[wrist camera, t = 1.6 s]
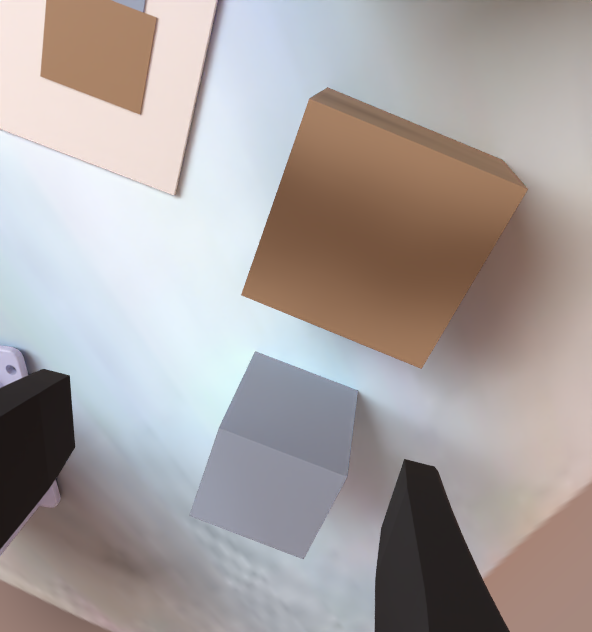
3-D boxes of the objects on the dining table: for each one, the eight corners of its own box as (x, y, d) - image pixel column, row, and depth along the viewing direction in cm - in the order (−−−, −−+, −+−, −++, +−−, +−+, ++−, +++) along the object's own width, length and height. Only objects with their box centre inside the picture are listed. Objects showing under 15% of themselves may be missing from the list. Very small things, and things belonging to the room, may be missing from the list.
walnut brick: (418, 311, 20) (421, 368, 16) (269, 250, 20) (241, 295, 16) (501, 158, 17) (528, 189, 14) (328, 87, 17) (309, 98, 13)
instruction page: (175, 194, 19) (173, 195, 19) (-6, 125, 19) (-10, 126, 19) (250, -149, 14) (248, -152, 14) (9, -241, 14) (4, -245, 14)
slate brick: (321, 464, 24) (303, 559, 20) (228, 429, 24) (189, 515, 20) (357, 389, 22) (347, 476, 17) (255, 350, 22) (219, 428, 17)
